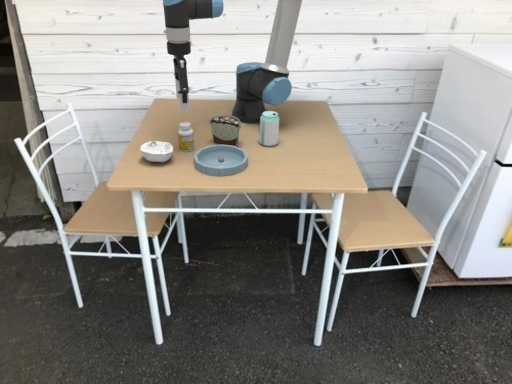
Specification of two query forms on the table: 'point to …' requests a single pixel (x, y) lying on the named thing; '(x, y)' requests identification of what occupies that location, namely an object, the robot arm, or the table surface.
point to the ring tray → (221, 160)
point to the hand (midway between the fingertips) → (182, 104)
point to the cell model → (157, 151)
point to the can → (269, 128)
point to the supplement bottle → (185, 137)
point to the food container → (225, 130)
